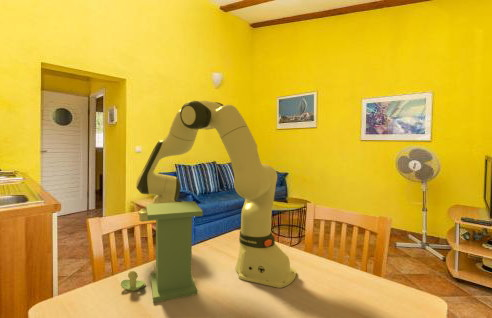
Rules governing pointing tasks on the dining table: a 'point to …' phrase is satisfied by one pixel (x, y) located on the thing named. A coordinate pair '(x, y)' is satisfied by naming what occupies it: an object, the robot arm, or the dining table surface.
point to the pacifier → (132, 282)
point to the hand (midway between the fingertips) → (167, 218)
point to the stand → (173, 249)
